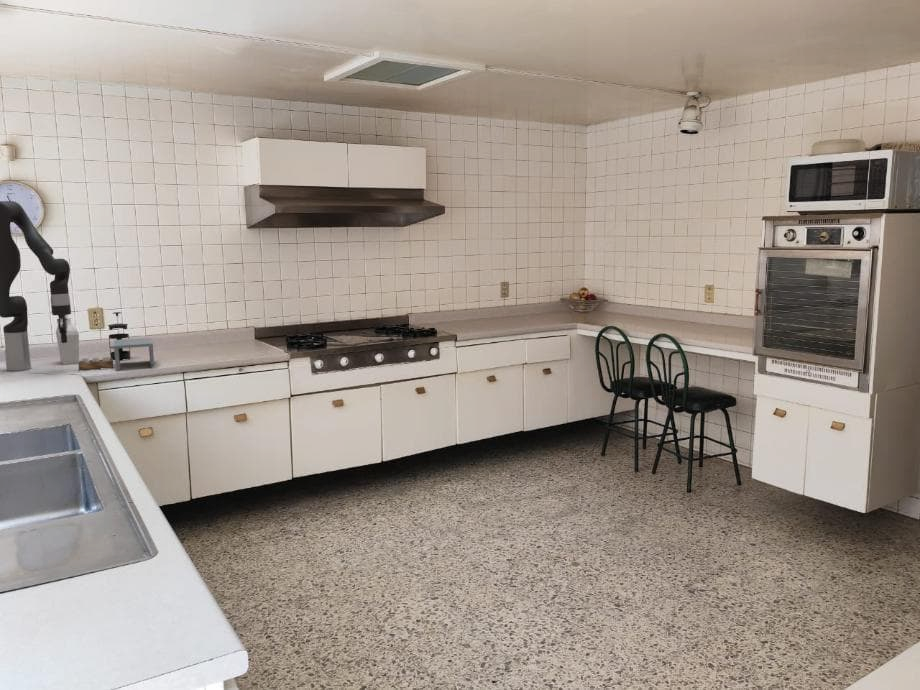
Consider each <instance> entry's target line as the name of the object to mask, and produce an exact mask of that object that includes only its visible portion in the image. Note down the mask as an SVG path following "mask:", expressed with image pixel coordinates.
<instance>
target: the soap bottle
mask: <svg viewBox="0 0 920 690" xmlns="http://www.w3.org/2000/svg"><path fill="white" fill-rule="evenodd" d="M50 312H51V314H52V310H51V311H50ZM65 318H67V319H68V322H67V326H68V328H67V343H62V342H61V335H60V333H59V332H60V331H59V329H58V325H57V327H56V330H55V335H56V341H57V347H58V353H59V358H60V363H61V364H62V365H70V364H71V365H72V363H73V364H78V363H79V361H80V358H79V357H80V348H79V347H80V334H79V331H78V329H77V326H76V325H75V324H74V323H72V320H71V317H69V315H65Z"/></svg>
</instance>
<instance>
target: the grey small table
mask: <svg viewBox="0 0 920 690" xmlns="http://www.w3.org/2000/svg"><path fill="white" fill-rule="evenodd" d="M113 346H114V349H113V350H114V351H113V352H114V353H115V361H114V362H115V364H114V365H115V371H116V370H119V371H120V370H121V369H120V364H121V360H120V359H119V348H123V349H129V348H130V349H131V348H144V347H148V351H149V352H148V353H149V363H150V367H151V368H152V367H154V368H155V357H154V344H153V339H152V337H141V338H140V337H139V338H129V339H128V338H122V340H117V339H114V340H113ZM119 363H120V364H119Z"/></svg>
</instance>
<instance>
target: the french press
mask: <svg viewBox="0 0 920 690" xmlns="http://www.w3.org/2000/svg"><path fill="white" fill-rule="evenodd" d="M112 314H115V316H116V321H117V322H116V323H112V324H111V323H110V324H108V325H107V327H108V330H109V331H113V329H117V333H112V334H111V333H110V334H108V343H109V357H110V359H113V360H115V353H114V351H111V349H112V350H114V345H111V341H110V340H111V339H112V340H113V339H114V340H123V339H130V334H129V333H123V332H122V333H120V329H123V330H127V329H128V326H129V324H128V323H123V322H122V323H119V314H122V312H121V311H116V312H112ZM129 358H131V359H132V355H131V348H128V350H124V348H119V359H120V361H124V360H123V359H128V360H130V359H129Z"/></svg>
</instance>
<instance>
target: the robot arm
mask: <svg viewBox="0 0 920 690" xmlns="http://www.w3.org/2000/svg"><path fill="white" fill-rule="evenodd" d="M27 214H28V213H26V211H25V209H24V208H23V206H22V205H20V203H18V202H17V201H13V200H0V318H3V319H4V318H5V319H6V318H8V319H9V318H13V319H12V320H11V322H9V323H7V324H6V325H4V326H3V337H4V346H5V347H4V348H5V350H4V356H5V357H4V358H5V364H6V365H5V367H6V371H7V372H8V371H9V372H10V371H13V372H17V371H18V372H19V371H25V370H30V369H32V363H31V353H30V344H29V333H28V327H29V325H28V324H29V321H28V318H29V317H28V316H29V315H28V304H27V301H26V299H25V297H23V296H22V295H15V296H10V291H11V287H12V284H13V283H14V281H15V279H16V278H17V276H18V275H19V273H20V270H21V266H22V262H21V260H22V259H21V252H20V249H19V247H18V245H17V243H16V242H15V240H14V238H13V236H12V231H11V223H14V224H15V225H16V226H17V227H18V228H19V229H20V231H21V232H22V234H23V237H24V241H25V243H26V245H27V247H28V248H29V250H30V251H31V252H32V253H33V254H34V255H35V256H36V257H37V259H38V260H39V263H40V265H41V267H42V269H43V270H44V271H45V272H46V273H48V275H50V276H54V279H53V280H52V281H51V282H50V283H49V288H50V289H49V290H50V308H51V311H52V313H51V315H52V316H58V318H57V319H56V324H57V326H58V329H59V331H60V332H59V333H60V335H61V342H62V343H67V328H68V326H67V322H68V319H67V318H65V315H68V316H69V315H71V314H72V307H71V299H70V298H71V297H70V293H69V286H68V285H69V280H70V273H71V268H70V264H69V262H68V260H67V259H65V258H55V257H54V256H53V255H54V249H53V248H52V246H50V244H49V243H48V242H47V241H46V240H45V239H44V237H42V235H41V234H40V232H39V231H38V230H37V228H36V227H35V225H34V224H33V222H32V221H31V219H30V217H29V216H28V215H27Z"/></svg>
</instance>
